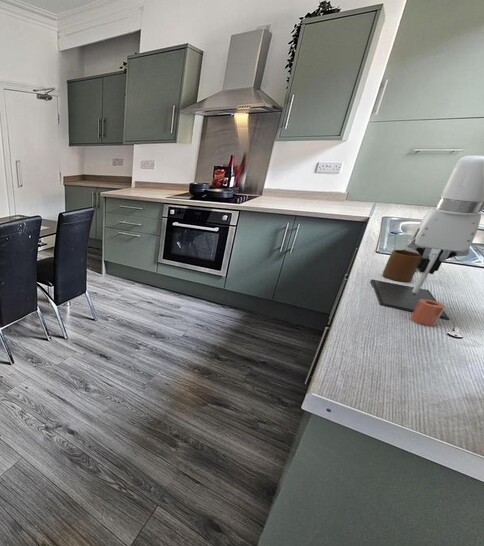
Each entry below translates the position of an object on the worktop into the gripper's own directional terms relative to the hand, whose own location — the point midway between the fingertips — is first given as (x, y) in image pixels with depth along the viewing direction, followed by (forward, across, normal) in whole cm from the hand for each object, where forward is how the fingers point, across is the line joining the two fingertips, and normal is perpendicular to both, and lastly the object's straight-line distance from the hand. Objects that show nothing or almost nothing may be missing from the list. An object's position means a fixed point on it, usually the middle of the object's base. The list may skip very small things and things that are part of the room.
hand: (425, 271), depth 87 cm
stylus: (+8, 0, 0) cm, 8 cm away
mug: (+11, -1, -29) cm, 31 cm away
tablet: (+11, 0, -6) cm, 13 cm away
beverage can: (+11, -6, -42) cm, 44 cm away
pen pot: (+11, -1, +10) cm, 15 cm away
